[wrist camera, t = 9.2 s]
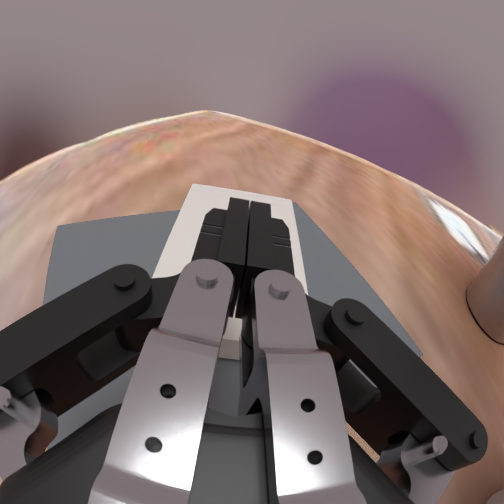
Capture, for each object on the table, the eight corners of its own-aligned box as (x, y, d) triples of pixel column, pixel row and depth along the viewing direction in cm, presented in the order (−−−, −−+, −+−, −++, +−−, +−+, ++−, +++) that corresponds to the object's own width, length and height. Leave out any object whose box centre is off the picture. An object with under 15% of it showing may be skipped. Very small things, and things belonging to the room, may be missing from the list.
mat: (294, 206, 30) (295, 202, 29) (418, 358, 17) (423, 354, 16) (58, 231, 20) (57, 225, 19) (59, 481, 7) (55, 480, 6)
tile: (315, 347, 13) (291, 199, 25) (135, 322, 12) (193, 183, 24) (301, 367, 15) (285, 220, 26) (141, 345, 14) (191, 204, 25)
